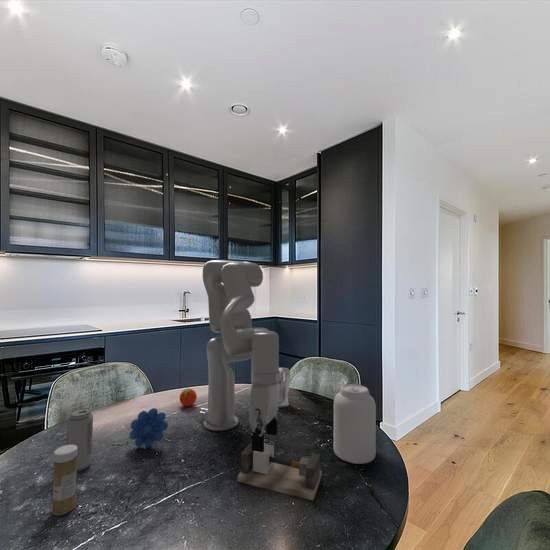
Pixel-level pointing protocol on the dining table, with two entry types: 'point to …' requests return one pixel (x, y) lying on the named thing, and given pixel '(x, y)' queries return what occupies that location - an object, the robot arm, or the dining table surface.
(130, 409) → the dining table surface
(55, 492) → the pill bottle
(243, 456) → the small bench vise
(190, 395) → the clementine
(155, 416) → the grapes
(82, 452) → the energy drink can
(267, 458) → the sleeve
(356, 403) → the can
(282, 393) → the beer glass
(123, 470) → the dining table surface
